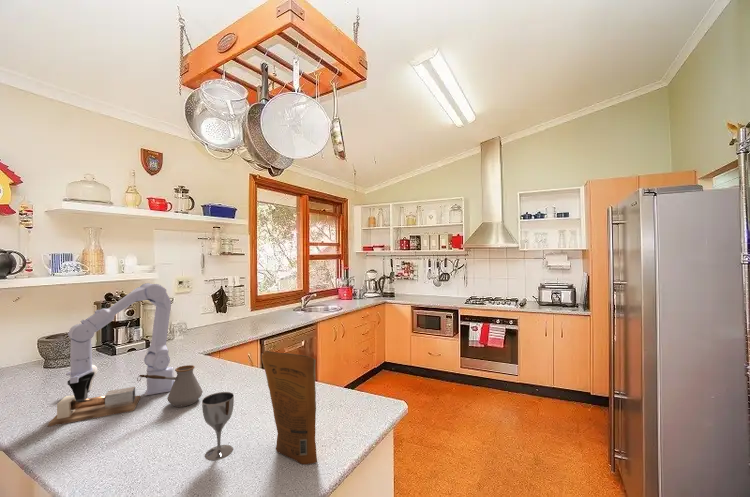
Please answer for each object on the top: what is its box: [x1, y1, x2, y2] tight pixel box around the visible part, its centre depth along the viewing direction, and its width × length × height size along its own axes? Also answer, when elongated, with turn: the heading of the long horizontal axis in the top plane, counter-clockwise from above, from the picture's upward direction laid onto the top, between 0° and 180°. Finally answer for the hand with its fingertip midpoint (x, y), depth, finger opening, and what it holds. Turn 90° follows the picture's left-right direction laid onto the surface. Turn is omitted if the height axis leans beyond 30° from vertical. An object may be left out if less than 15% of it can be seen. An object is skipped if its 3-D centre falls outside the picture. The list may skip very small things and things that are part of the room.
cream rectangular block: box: [56, 394, 76, 419], centre depth 115 cm, size 3×7×5 cm, turn 26°
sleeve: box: [104, 386, 136, 409], centre depth 122 cm, size 8×5×5 cm, turn 116°
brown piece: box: [71, 388, 105, 410], centre depth 118 cm, size 14×3×6 cm, turn 116°
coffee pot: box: [136, 364, 204, 408], centre depth 121 cm, size 21×12×15 cm, turn 148°
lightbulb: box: [88, 363, 99, 392], centre depth 137 cm, size 6×6×11 cm
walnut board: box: [47, 394, 141, 427], centre depth 119 cm, size 23×12×1 cm, turn 116°
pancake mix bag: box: [261, 350, 318, 466], centre depth 90 cm, size 7×19×28 cm, turn 54°
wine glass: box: [201, 391, 235, 461], centre depth 92 cm, size 8×8×15 cm
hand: (81, 397), depth 117 cm, fingers closed on brown piece, 3 cm apart
